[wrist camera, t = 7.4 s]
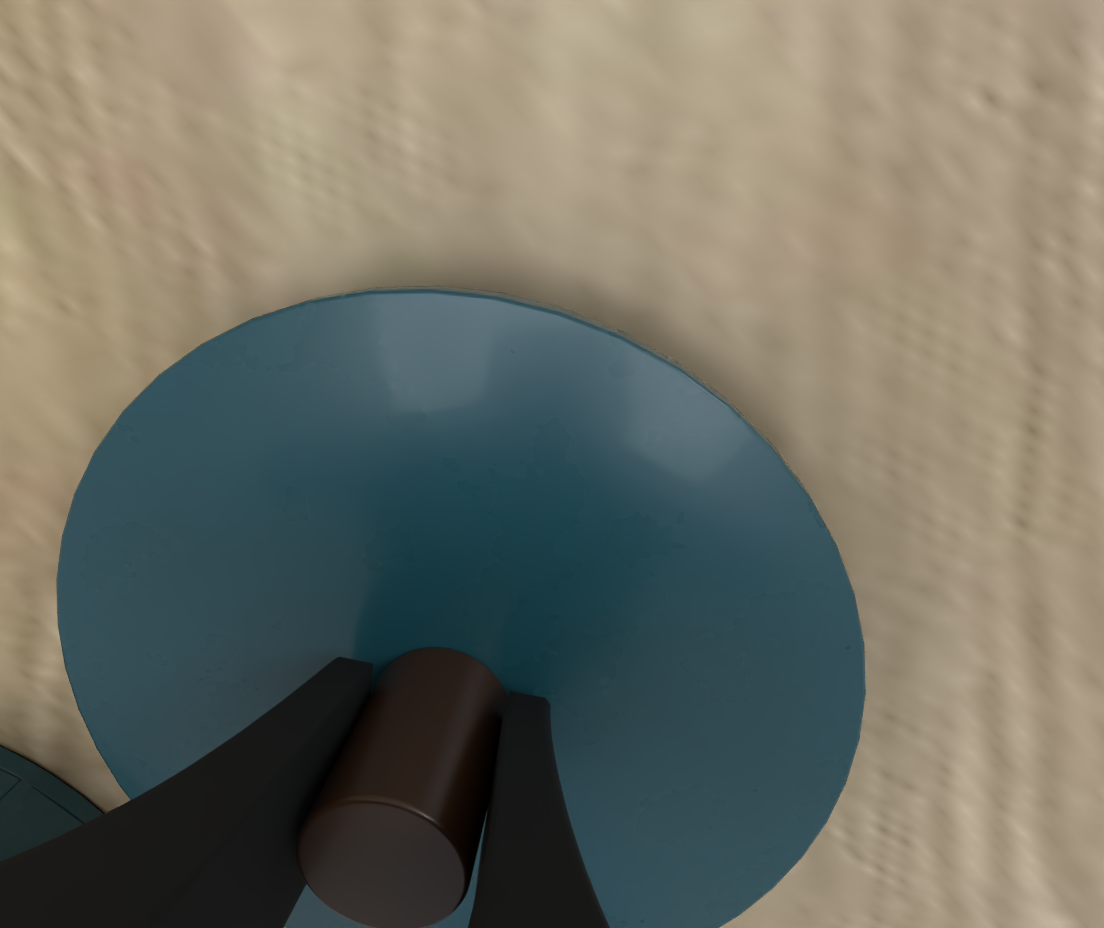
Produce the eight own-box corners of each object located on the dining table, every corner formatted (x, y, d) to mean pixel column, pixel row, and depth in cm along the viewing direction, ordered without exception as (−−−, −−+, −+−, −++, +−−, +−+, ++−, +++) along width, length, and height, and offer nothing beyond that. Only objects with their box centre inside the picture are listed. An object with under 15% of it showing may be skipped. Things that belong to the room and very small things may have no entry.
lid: (970, 369, 11) (1181, 475, 7) (735, 991, 16) (772, 1271, 12) (67, 209, 12) (-256, 215, 7) (118, 860, 17) (-53, 1082, 12)
